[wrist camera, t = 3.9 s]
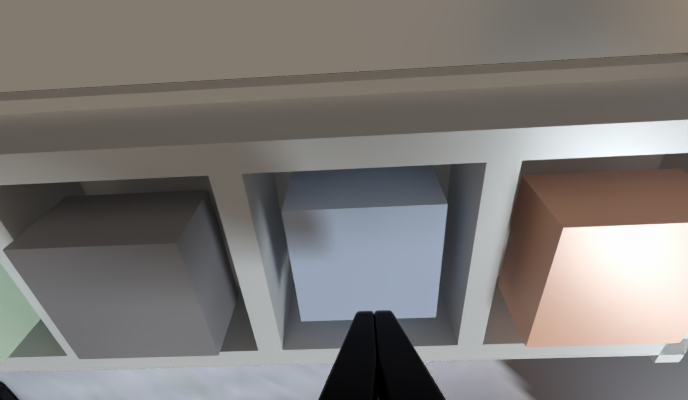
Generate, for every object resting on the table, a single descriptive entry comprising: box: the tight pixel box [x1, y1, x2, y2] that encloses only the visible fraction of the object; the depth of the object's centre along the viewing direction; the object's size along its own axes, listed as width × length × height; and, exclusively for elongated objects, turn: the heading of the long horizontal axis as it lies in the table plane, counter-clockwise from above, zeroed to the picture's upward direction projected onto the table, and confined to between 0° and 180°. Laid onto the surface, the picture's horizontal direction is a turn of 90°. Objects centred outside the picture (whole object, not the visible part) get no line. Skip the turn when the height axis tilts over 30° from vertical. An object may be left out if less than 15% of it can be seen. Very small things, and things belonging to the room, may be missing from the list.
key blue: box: [282, 165, 448, 321], centre depth 12 cm, size 4×4×2 cm
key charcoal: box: [3, 190, 239, 359], centre depth 11 cm, size 4×4×2 cm
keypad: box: [0, 53, 688, 372], centre depth 12 cm, size 27×9×4 cm, turn 93°
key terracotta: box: [498, 168, 688, 347], centre depth 11 cm, size 4×4×2 cm
